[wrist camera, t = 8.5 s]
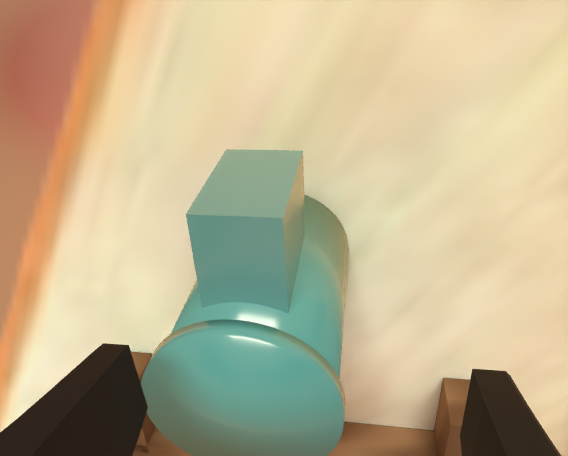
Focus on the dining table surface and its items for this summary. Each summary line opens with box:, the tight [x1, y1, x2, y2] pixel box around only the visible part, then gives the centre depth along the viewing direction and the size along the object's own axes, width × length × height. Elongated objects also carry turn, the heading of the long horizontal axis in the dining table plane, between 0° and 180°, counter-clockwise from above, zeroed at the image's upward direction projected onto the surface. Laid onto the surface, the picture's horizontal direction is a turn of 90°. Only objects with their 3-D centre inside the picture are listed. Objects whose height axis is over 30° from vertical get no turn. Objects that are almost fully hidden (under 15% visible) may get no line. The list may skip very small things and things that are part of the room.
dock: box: [131, 352, 470, 456], centre depth 24 cm, size 16×5×2 cm, turn 92°
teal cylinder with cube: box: [141, 150, 349, 456], centre depth 16 cm, size 6×8×8 cm
